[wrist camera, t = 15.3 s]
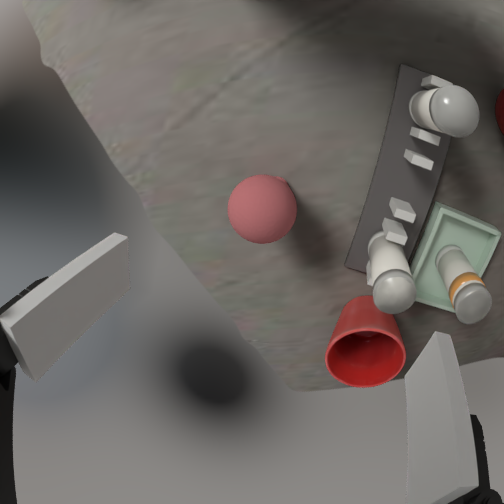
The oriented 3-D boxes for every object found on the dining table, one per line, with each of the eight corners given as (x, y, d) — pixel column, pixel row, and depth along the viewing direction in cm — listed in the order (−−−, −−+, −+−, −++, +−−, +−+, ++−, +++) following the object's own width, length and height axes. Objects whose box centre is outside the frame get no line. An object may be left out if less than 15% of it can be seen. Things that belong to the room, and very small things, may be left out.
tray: (435, 201, 34) (440, 207, 31) (494, 225, 32) (501, 233, 30) (400, 287, 40) (402, 296, 38) (456, 304, 38) (460, 314, 36)
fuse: (375, 224, 36) (385, 270, 27) (406, 236, 36) (424, 284, 26) (362, 255, 39) (366, 306, 29) (392, 265, 38) (403, 318, 29)
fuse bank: (399, 64, 28) (408, 57, 23) (459, 88, 26) (476, 86, 22) (344, 262, 41) (343, 284, 36) (397, 279, 40) (402, 301, 35)
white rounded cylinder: (412, 85, 28) (438, 76, 18) (446, 99, 27) (483, 98, 18) (404, 120, 30) (428, 125, 21) (438, 134, 29) (472, 145, 20)
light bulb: (317, 183, 37) (305, 215, 27) (286, 225, 41) (263, 268, 31) (271, 150, 37) (240, 168, 27) (242, 194, 41) (205, 226, 31)
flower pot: (327, 339, 48) (320, 384, 39) (335, 281, 43) (329, 325, 34) (391, 345, 45) (394, 391, 36) (406, 288, 40) (416, 332, 32)
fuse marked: (442, 239, 35) (468, 284, 25) (469, 249, 34) (498, 294, 24) (429, 269, 37) (449, 319, 28) (455, 277, 36) (479, 327, 27)
